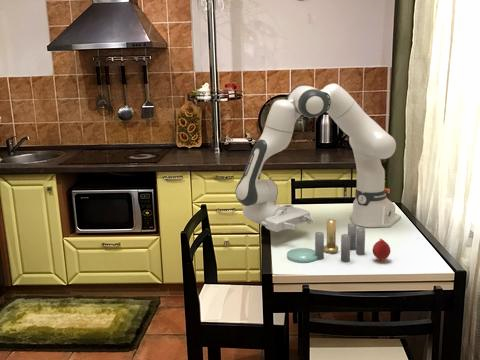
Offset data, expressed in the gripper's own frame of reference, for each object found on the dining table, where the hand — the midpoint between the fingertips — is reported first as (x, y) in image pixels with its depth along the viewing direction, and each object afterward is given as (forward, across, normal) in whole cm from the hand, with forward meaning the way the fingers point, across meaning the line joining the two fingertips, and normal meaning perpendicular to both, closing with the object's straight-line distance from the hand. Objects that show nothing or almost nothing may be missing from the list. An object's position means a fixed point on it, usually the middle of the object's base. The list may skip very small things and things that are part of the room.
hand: (304, 224), depth 199 cm
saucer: (+8, -11, +8) cm, 15 cm away
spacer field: (+17, 0, +7) cm, 19 cm away
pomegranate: (+30, +4, +8) cm, 32 cm away
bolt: (+12, 0, +8) cm, 14 cm away
